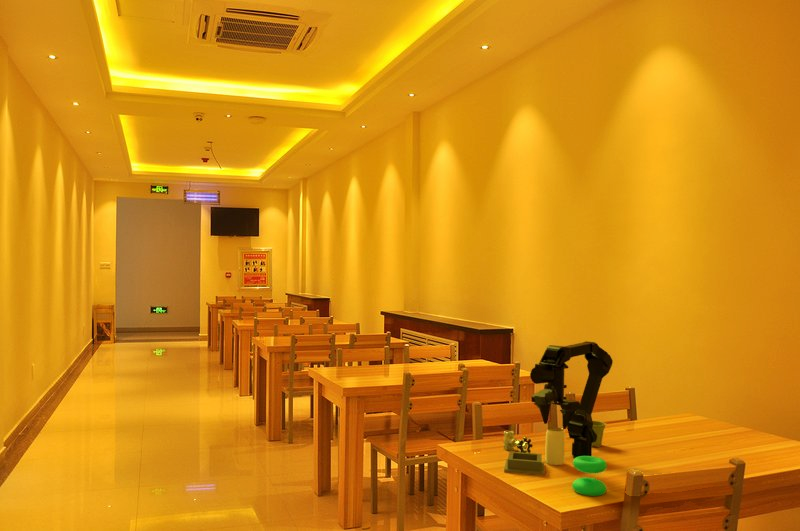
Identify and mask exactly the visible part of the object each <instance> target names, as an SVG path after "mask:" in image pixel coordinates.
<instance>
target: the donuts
mask: <svg viewBox="0 0 800 531" xmlns="http://www.w3.org/2000/svg"><path fill="white" fill-rule="evenodd" d="M572 464H573V466H574V468H575V470H578V471H579V472H582V473H586V474H600V473H603V472H605V471H606V469H607V467H608V464H607V462H606V460H605V459H603V458H602V457H598V456H593V455H592V456H579V457H576V458H573V461H572ZM571 487H572V489H573V490H574V492H576V493H577V494H580V495H583V496H588V495H589V497H597V496H603V495H604V494H605V493H606V492H607V486H606V484H605V482H603V481H602V480H599V479H598V478H593V477H579V478H576V479H575V480H573V482H572V486H571Z"/></svg>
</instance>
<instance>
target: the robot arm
mask: <svg viewBox="0 0 800 531" xmlns="http://www.w3.org/2000/svg"><path fill="white" fill-rule="evenodd" d="M583 355H584V359H585V360H586V362H587V365H586V367H587V371H588V376H587V379H586V383H585V386H584V389H583V392H582V396H581V399H580V401H579V400H575V399H567V396H565V389H567V386H568V385H567V384H565V369H567V370H568V369H569V366H568V365H567V364H566V362H569V361H570V360H571V359H572V358H574V357H579V356H583ZM613 362H614V361H613V359H612V357H611V355H610V354H609V353H608V352H607V351H606V350H605V349H603V348H601V347H600V346H599V345H598V343H597V342H595V341H588V340H587V341H586V340H585V341H583V342H578V343H573V344H569V345H554V344H552V345H551V344H550V345H547V347H546V349H545V351H544V353H543V355H542V356H541V358H540V360H539V363H534V364H535V365H534V367H533V368H532V369H531V371H530V373H529V374H530V375H529V376H530V380H531V381H532V383H533V384H535V385H536V384H537V385H540V384H544V388H543V389H541V390H539V391H537V392H535V393H533V394H532V396H531V403H533V405H535V406H536V407H537V408H538V409H539V412H540V415H541V417H542V420H543V424H544V425H546V424H548V422H549V416H550V412H551V406H552V405H551V404H553V405H557V406H560V408H561V409H559V411H560V413H561V414H562V417H561V418H562V429H564V430H566V429H567V432H568V436H569V437H568V438H569V439H572V440H573V442H571V455H572V456H573V459H575V458H576V457H579V456H593V455H592V454H593V452H592V449H593V448H592V447H593V446H592V443H594V442H596V440H597V435H596V433H595V432H594V430H593V429H592V428H593V421H594V420H593V417H592V413H593V410H594V407H595V403H596V401H597V398H598V394H599V391H600V387H601V385H602V381H603V378H605V376H607V375H608V374H609V373H610V370H611V368H612V366H613Z"/></svg>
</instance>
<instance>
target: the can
mask: <svg viewBox="0 0 800 531" xmlns="http://www.w3.org/2000/svg"><path fill="white" fill-rule="evenodd" d="M564 430H565V429H563V427H562V428H561V427H556V426H555V427H554V426H553V427H547V429H546V432H545V449H544V450H545V453H544V463H545V464H547V465H549V466H554V465H555V466H558V467H559V466H563V465H564V463H565V446H566V445H565V444H566V442H565V441H566V438H565V437H566V435H565V431H564Z"/></svg>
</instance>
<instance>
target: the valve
mask: <svg viewBox="0 0 800 531" xmlns="http://www.w3.org/2000/svg"><path fill="white" fill-rule="evenodd" d="M514 437H515V432H514V431H513V430H512V431H511V430H504V431H503V439H502V442H503V450H504V451H513V450H514V449H515V447H516V448H517V449H519V450H518V452H523V453H532V451H531V448H533V444H531V442H532V440H531V438H528V437H525V436H524V437H522V439H519V440H518V439H517V438H514Z"/></svg>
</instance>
